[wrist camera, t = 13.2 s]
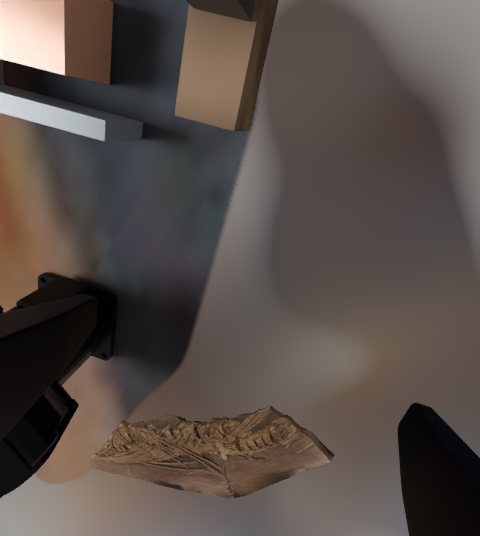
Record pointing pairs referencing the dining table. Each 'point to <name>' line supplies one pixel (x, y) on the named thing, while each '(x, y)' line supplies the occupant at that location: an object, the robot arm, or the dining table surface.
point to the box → (66, 114)
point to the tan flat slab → (213, 452)
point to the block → (59, 36)
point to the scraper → (223, 60)
